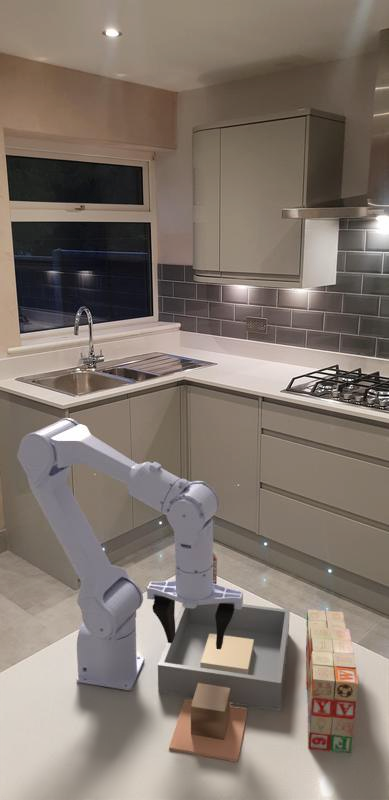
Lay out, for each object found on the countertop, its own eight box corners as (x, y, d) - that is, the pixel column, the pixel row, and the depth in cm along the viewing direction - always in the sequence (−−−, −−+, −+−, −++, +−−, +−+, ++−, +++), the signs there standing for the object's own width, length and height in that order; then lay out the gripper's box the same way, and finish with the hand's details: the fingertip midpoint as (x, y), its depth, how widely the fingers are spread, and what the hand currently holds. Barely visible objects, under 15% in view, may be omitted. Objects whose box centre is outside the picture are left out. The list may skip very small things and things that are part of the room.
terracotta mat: (169, 749, 93) (169, 747, 93) (184, 700, 102) (184, 698, 102) (237, 761, 91) (237, 759, 91) (247, 711, 100) (247, 708, 100)
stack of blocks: (304, 654, 113) (308, 593, 110) (340, 658, 113) (345, 596, 109) (308, 750, 93) (312, 678, 90) (352, 755, 92) (358, 682, 89)
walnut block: (190, 734, 95) (190, 706, 94) (197, 710, 100) (198, 682, 98) (224, 740, 94) (224, 711, 93) (229, 715, 99) (230, 687, 97)
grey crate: (158, 693, 104) (157, 664, 103) (185, 622, 123) (185, 596, 121) (279, 712, 100) (281, 683, 99) (288, 635, 119) (289, 609, 117)
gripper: (139, 572, 94) (143, 652, 98) (238, 582, 91) (237, 664, 95) (153, 549, 101) (155, 625, 104) (245, 558, 98) (244, 635, 101)
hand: (195, 642), depth 100 cm, fingers open, 7 cm apart
